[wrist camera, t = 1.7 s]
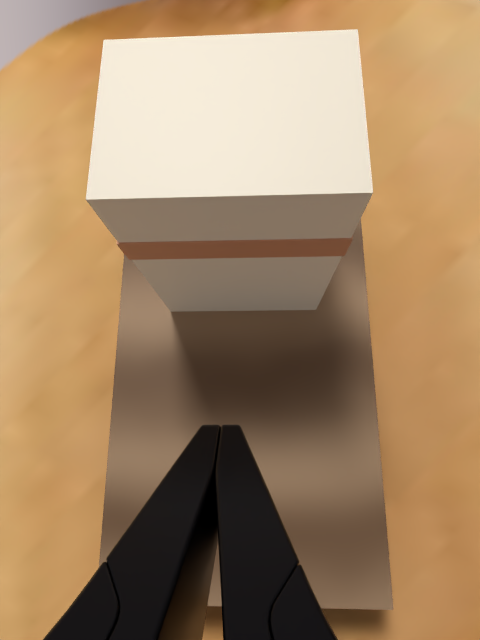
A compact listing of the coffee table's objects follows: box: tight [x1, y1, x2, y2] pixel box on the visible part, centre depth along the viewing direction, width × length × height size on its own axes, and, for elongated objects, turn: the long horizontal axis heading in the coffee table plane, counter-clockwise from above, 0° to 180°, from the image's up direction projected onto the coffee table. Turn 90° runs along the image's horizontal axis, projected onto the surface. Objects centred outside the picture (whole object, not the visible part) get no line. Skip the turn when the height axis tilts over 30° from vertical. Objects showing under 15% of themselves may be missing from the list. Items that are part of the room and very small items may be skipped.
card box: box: [86, 29, 373, 312], centre depth 15 cm, size 5×7×10 cm
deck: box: [99, 218, 393, 610], centre depth 20 cm, size 18×12×4 cm, turn 0°
